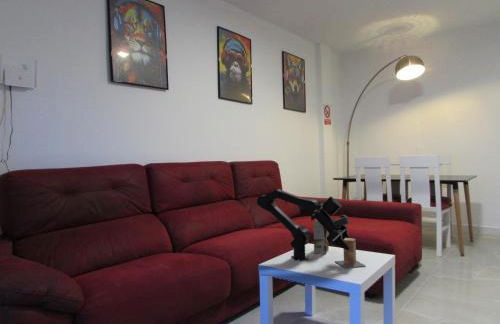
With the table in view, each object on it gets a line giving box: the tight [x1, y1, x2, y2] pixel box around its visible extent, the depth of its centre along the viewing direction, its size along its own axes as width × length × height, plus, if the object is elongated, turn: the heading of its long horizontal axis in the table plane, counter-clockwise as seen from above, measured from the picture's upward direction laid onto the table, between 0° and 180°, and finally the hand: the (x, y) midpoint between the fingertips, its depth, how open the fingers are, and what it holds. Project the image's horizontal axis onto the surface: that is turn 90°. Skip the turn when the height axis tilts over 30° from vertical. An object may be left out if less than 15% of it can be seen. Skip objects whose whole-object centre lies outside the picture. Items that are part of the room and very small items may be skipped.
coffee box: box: [313, 219, 330, 255], centre depth 185 cm, size 9×6×16 cm
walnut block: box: [343, 237, 357, 265], centre depth 162 cm, size 4×4×11 cm
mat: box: [334, 259, 366, 269], centre depth 163 cm, size 10×10×1 cm
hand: (350, 247), depth 162 cm, fingers open, 9 cm apart
